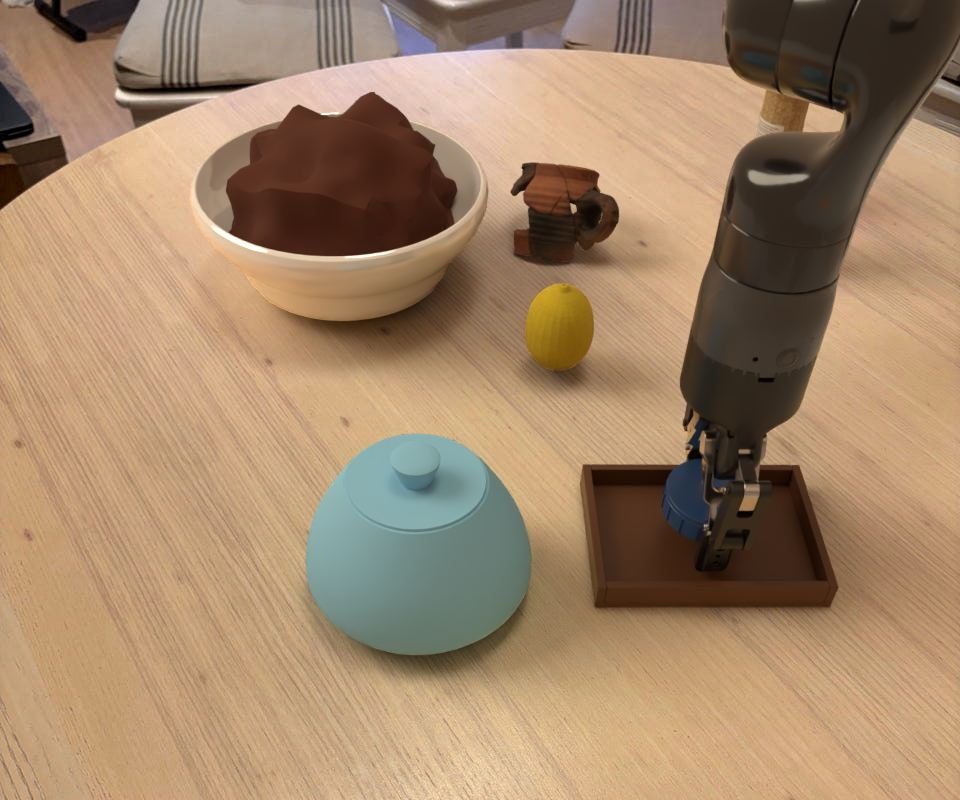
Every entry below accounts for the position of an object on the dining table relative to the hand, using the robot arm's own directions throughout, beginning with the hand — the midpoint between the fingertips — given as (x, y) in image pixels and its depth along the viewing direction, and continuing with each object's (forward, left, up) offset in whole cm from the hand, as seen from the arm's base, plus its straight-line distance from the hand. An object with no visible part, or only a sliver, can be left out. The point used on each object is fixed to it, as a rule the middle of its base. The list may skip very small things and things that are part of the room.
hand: (701, 531), depth 72 cm
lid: (0, 0, +3) cm, 3 cm away
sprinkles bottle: (-14, -48, -1) cm, 50 cm away
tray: (0, 0, -1) cm, 1 cm away
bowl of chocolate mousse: (+27, -33, -1) cm, 43 cm away
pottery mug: (+7, -40, -1) cm, 41 cm away
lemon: (+9, -20, -1) cm, 22 cm away
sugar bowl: (+20, +4, -1) cm, 20 cm away
